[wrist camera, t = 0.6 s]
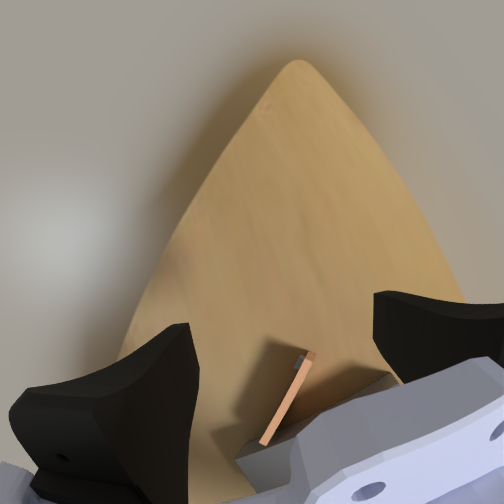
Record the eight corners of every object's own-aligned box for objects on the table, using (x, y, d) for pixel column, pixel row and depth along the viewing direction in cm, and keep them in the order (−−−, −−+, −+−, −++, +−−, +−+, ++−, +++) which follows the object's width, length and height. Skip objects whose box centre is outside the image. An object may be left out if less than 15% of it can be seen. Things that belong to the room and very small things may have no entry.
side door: (315, 354, 30) (312, 362, 26) (274, 430, 30) (266, 446, 26) (303, 348, 30) (299, 355, 26) (263, 424, 30) (253, 439, 26)
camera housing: (416, 423, 26) (430, 445, 20) (276, 487, 28) (265, 515, 23) (390, 372, 28) (401, 387, 22) (246, 443, 30) (229, 466, 25)
